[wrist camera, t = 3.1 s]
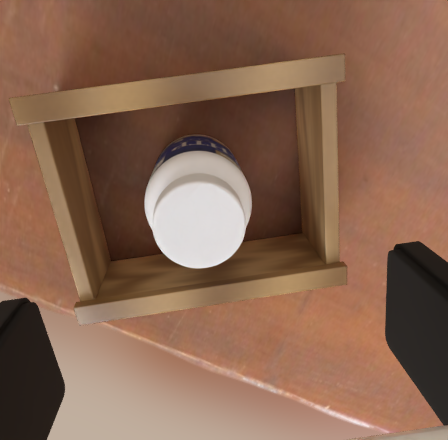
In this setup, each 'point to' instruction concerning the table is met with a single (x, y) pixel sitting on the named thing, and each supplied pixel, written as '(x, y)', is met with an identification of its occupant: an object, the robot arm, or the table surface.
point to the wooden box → (160, 264)
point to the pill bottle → (198, 202)
